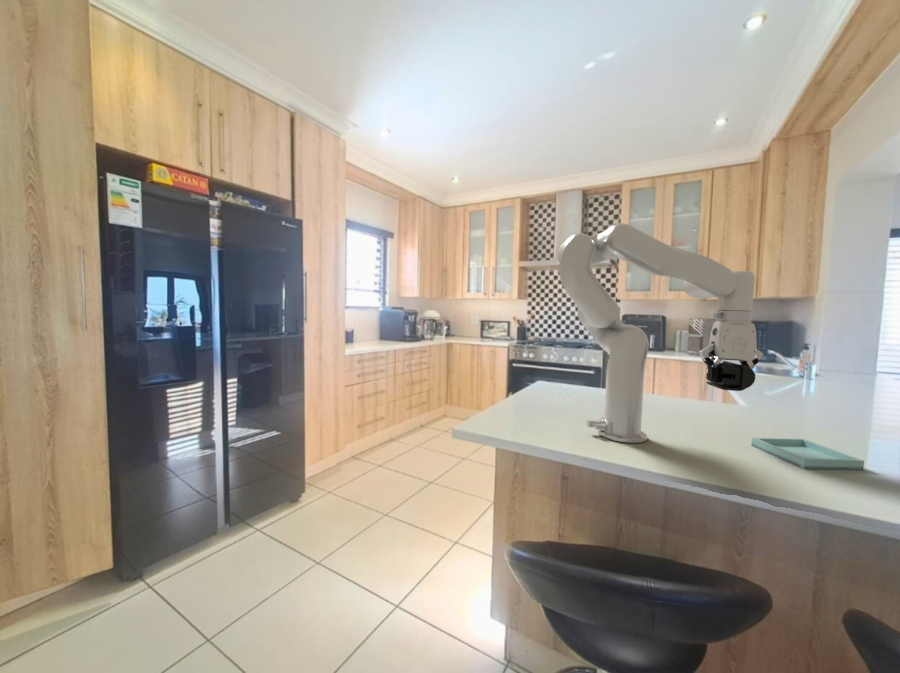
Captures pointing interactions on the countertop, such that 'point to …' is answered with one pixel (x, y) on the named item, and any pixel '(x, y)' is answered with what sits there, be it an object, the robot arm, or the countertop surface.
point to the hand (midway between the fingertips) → (728, 381)
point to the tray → (807, 454)
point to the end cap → (733, 377)
